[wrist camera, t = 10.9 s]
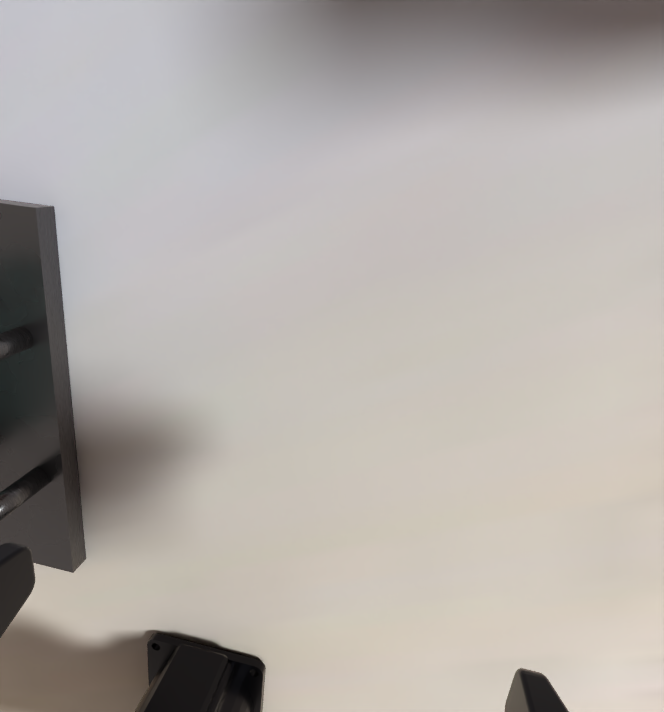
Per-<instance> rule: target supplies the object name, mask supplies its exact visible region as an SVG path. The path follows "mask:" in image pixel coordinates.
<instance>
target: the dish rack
mask: <svg viewBox="0 0 664 712" xmlns="http://www.w3.org/2000/svg"><path fill="white" fill-rule="evenodd" d="M5 543H16V544H20V545H24V546H27V547H29V548H30V549H31V552H32V558H33V563H37V564H41V565H45V566H49V567H53V568H57V569H61V570H65V571H69V572H74V571H75V570H76V569H77V568H78V567H79V566H80V565H81V564H82V563H83V561H84V560H85V559H86V554H85V543H84V532H83V521H82V510H81V499H80V488H79V477H78V466H77V455H76V444H75V433H74V422H73V411H72V400H71V389H70V378H69V367H68V356H67V345H66V334H65V323H64V312H63V301H62V290H61V279H60V268H59V257H58V246H57V235H56V224H55V212H54V206H47V205H39V204H31V203H24V202H16V201H9V200H1V199H0V545H2V544H5Z"/></svg>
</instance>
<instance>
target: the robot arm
mask: <svg viewBox="0 0 664 712" xmlns="http://www.w3.org/2000/svg"><path fill="white" fill-rule="evenodd" d="M34 584H35V573H34V565H33V558H32V552H31V549H30V548H29V547H27V546H24V545H20V544H16V543H5V544H2V545H0V638H1V636H2V635H3V633H4V632H5V630H6V629H7V627H8V626H9V625H10V623H11V622H12V620H13V619H14V617H15V616H16V614H17V613H18V611H19V610H20V608H21V607H22V606H23V604H24V603H25V601H26V600H27V598H28V597H29V595H30V594H31V592H32V590H33V587H34ZM147 647H148V673H149V687H148V689H147V691H146V693H145V694H144V696H143V698H142V700H141V702H140V703H139V705H138V707H137V709H136V710H135V712H262V708H263V695H264V682H265V669H266V668H265V665H264V664H263V663H262V662H261V661H260V660H257V659H254V658H250V657H246V656H242V655H238V654H235V653H231V652H227V651H223V650H219V649H216V648H212V647H208V646H204V645H200V644H197V643H193V642H189V641H185V640H181V639H178V638H174V637H170V636H166V635H162V634H157V633H156V634H153V635H152V636H151V638H150V640H149V641H148V644H147ZM505 712H569V711H568V710H567V708H566V707H565V705H564V704H563V702H562V701H561V699H560V697H559V696H558V694H557V693H556V691H555V690H554V688H553V687H552V685H551V683H550V682H549V680H548V679H547V678H546V677H545V676H544V675H543V674H542V673H539V672H535V671H531V670H527V669H523V668H520V669H518V670H517V671H516V673H515V675H514V678H513V682H512V685H511V688H510V691H509V694H508V697H507V700H506V705H505Z"/></svg>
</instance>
